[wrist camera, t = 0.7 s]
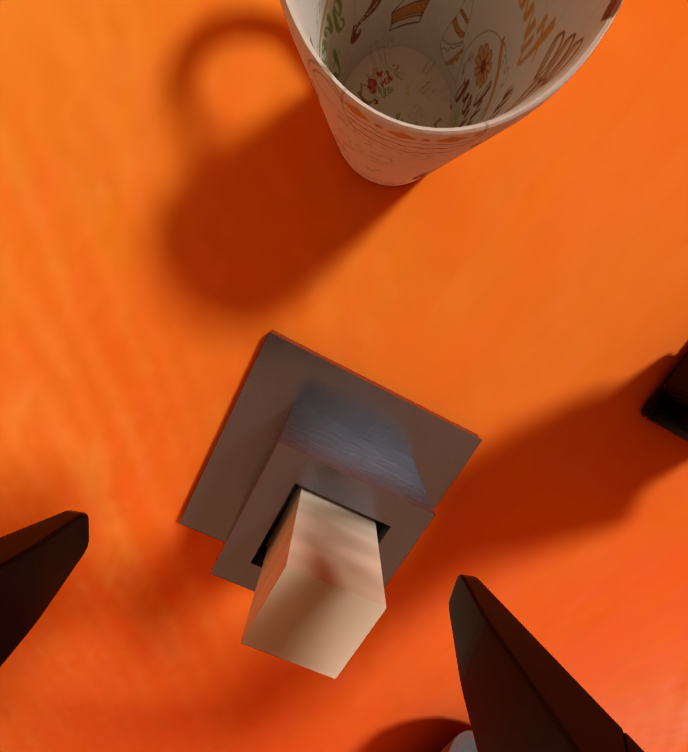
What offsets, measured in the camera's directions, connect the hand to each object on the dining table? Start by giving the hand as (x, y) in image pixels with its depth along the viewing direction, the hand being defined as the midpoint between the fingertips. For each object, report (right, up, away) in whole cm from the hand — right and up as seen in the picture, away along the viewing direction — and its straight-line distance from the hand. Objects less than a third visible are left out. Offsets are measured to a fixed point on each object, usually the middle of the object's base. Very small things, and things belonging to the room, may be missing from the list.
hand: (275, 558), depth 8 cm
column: (0, -2, +13) cm, 13 cm away
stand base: (0, -2, +14) cm, 14 cm away
